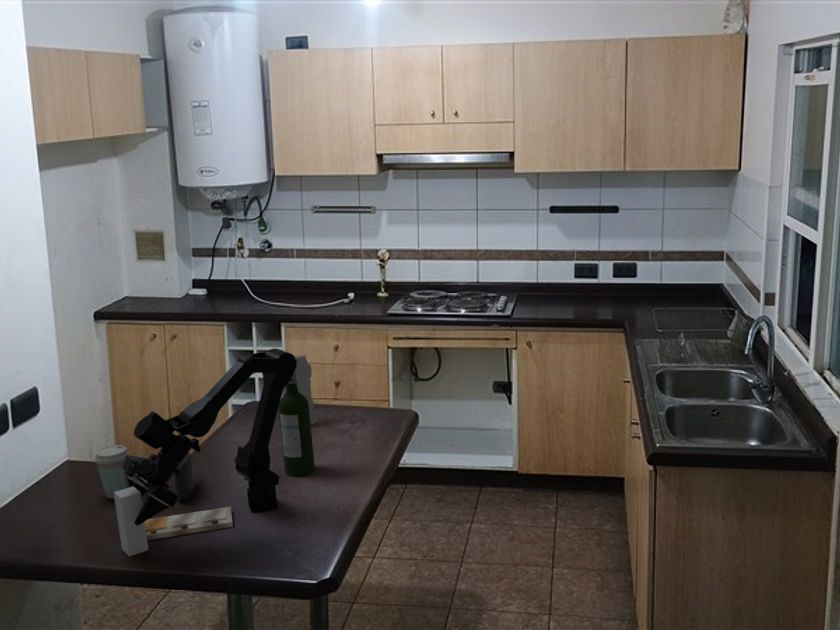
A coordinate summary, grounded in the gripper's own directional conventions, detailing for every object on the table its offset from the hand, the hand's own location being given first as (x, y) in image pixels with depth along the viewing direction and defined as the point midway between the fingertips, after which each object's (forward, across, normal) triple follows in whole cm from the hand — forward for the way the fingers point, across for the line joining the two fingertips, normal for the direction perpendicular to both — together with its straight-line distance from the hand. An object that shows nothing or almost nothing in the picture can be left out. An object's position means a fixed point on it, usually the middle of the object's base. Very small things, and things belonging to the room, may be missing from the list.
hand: (128, 517), depth 219 cm
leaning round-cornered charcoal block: (-10, -25, +21) cm, 34 cm away
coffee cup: (0, -35, +12) cm, 37 cm away
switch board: (-4, -4, +15) cm, 16 cm away
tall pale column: (-43, -44, +54) cm, 82 cm away
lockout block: (+5, 0, +6) cm, 8 cm away
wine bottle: (-30, -13, +41) cm, 53 cm away
